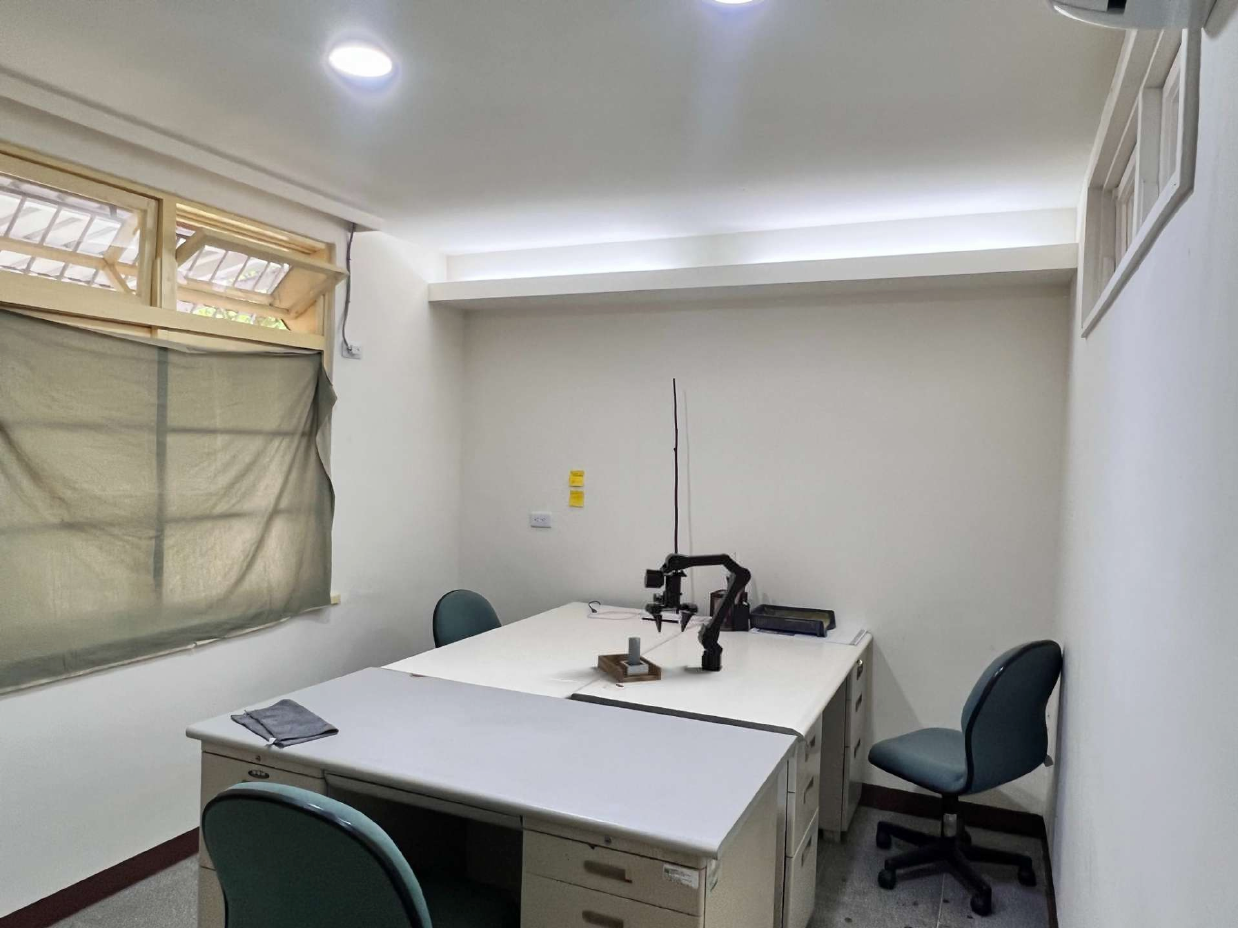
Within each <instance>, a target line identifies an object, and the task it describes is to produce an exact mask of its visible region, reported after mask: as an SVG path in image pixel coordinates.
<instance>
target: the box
mask: <svg viewBox="0 0 1238 928" xmlns="http://www.w3.org/2000/svg"><path fill="white" fill-rule="evenodd" d="M640 660H641V661H642V662H644V663H646V664H647V665H648V676H642V677H629V678H624V677H623V670H622V669H620V661H628V652H627V653H619V654H618V653H616V654H612V653H611V654H598V655H597V668H598V669H600V670H602V671H603V672H605V673H606V674H607V675H609V676H610V677H612V678H613V679H614V680H615V681H617V682H619V683H620V684H623V683H636V682H648V681H661V680H662V667H661V666H659V665H658V664H656V663H653V662H652V661H651V660H648V658H645V657H643V656H642V655H640Z"/></svg>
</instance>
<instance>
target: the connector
mask: <svg viewBox="0 0 1238 928" xmlns="http://www.w3.org/2000/svg"><path fill="white" fill-rule="evenodd" d="M627 651H628V652H627V653H628V665H629V666H632V665H640V656H641V637H636V636H633V637H628V650H627Z"/></svg>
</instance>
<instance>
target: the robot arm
mask: <svg viewBox="0 0 1238 928" xmlns="http://www.w3.org/2000/svg"><path fill="white" fill-rule="evenodd" d="M664 560H665V561H664V563H663V565H662V566H661V567H660V568H659V569H652V568H646V570H645V573H644V581H643V583H644V584H643V585H644V589H662V587H664V590H663V591H662V594H660V593H659V592H657V593H653V594H652V601H653V603H647V604H646V605H645V609H644V610H645V612H646V613H648V614H649V615H651V616H652V618H653V620H654V622H655V625H656V629H657V632H658V634H661V631H662V624H663V623H662V621H663V614H661V613H662V612H674V611H675V612H676V611H678V612H679V611H680V614H681V623H680V624H681V625H680V632H682V633H683V632H685V630H686V627H687V626H688V624H689V622H690V620H691V619H692V617H693V616H695V615H696V614H698V613H699V605H697V604H696V603H694V602H682V603H681V597H682V596H683V592H682V578H687V577H688V574H686V573H685V572H684V570H687V569H689V568H692V567H694V568H695V567H709V566H710V567H711V566H723V567H724V568H725V570H727V571H728V572H729V573H730V575H729V578H728V579H729V580H728V585H727V588H726V590H725V592H724V594H723V596H722V598H721V600H720V602H719V603H718V605H717V607H716V609H715V611H714V614H713V615H712V617H711V618H710V620H709V622H707V623H706V624H705V622H704V623H702V624H701V626H700V629H699V630H698V632H697V634H698V635H697V641H698V643H699V644H700V645H701V646H702V648H703V649H704V651H702V652H703V653H702V654H701V670H705V671H715V672H720V671H721V669H722V668H723V665H722V659H723V658H722V657H723V656H722V654H723V651H724V648H723V646H722V645H720V643H718V641H719V637H720V633H721V628H722V626H723V623H724V622H725V620H726V619H727V616H728V614H729V612H730V610H732V609H731V608H732V607H733V605H734V603H735V601H736V599H737V597H738V595H739V593H740V592H741V591H743V589H745V588H746V586H747V585H748V584H749V582H750V581H751V578H752V574H751V571H750V570H749V569H748V568H746V567H744V566H742V565H740V564H739V563H737V562H736V561H735V560H734V559H733V558H732V557H731V556H730V555H729V554H727V553H724V552H723V553H716V554H715V553H714V554H697V555H696V554H695V555H694V554H693V555H690V554H689V555H687V554H682V553H674V552H673V553H669V554H668V555H667V556H666V557H665V559H664Z"/></svg>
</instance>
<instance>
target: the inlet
mask: <svg viewBox="0 0 1238 928" xmlns="http://www.w3.org/2000/svg"><path fill="white" fill-rule="evenodd" d="M620 669H622V670H623V677H624V678H629V677H642V676H648V665H647V664H646V663H644V662H642V661H641V660H640V665H632V666H629V665H628V661H620Z"/></svg>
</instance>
